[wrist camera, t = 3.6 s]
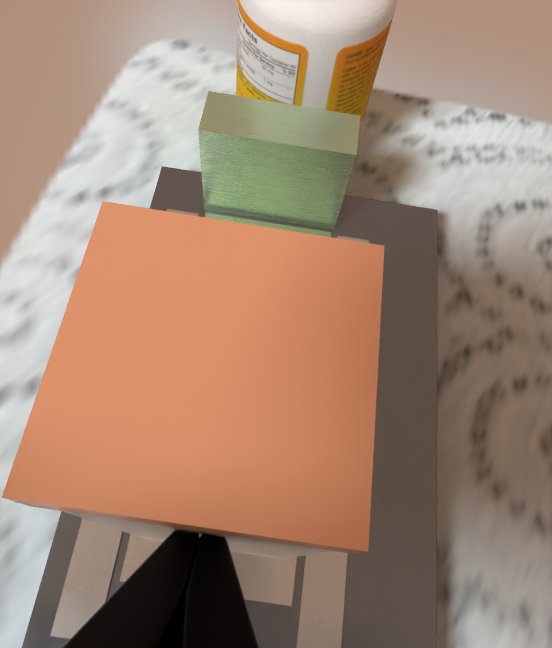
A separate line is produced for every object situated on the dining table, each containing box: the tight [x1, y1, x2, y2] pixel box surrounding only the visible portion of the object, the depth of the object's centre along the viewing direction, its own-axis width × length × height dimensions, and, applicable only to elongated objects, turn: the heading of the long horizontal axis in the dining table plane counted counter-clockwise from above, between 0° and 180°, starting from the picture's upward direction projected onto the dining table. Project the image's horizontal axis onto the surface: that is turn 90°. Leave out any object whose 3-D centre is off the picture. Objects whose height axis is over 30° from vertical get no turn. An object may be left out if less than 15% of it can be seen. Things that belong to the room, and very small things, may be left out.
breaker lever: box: [2, 201, 384, 559], centre depth 11 cm, size 4×4×10 cm
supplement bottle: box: [236, 0, 397, 131], centre depth 19 cm, size 5×5×10 cm
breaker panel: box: [22, 91, 437, 648], centre depth 15 cm, size 20×11×5 cm, turn 172°
